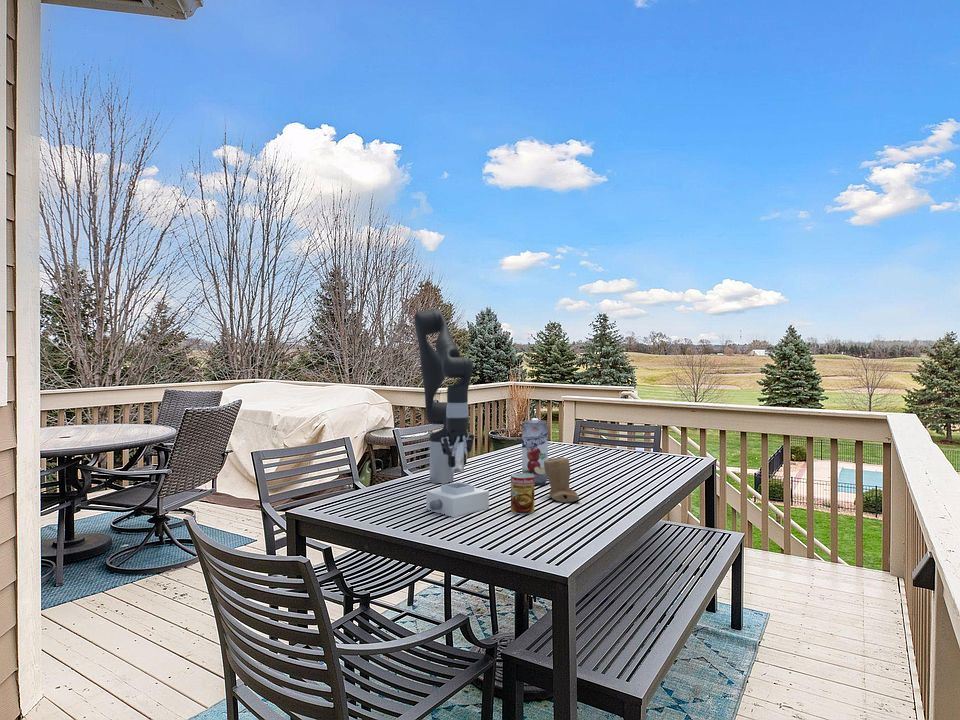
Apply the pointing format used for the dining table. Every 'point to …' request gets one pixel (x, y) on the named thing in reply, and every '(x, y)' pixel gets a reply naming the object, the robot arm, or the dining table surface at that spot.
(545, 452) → the juice carton
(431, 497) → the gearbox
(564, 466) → the tan suede boot
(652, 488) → the dining table surface
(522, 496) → the canned food
